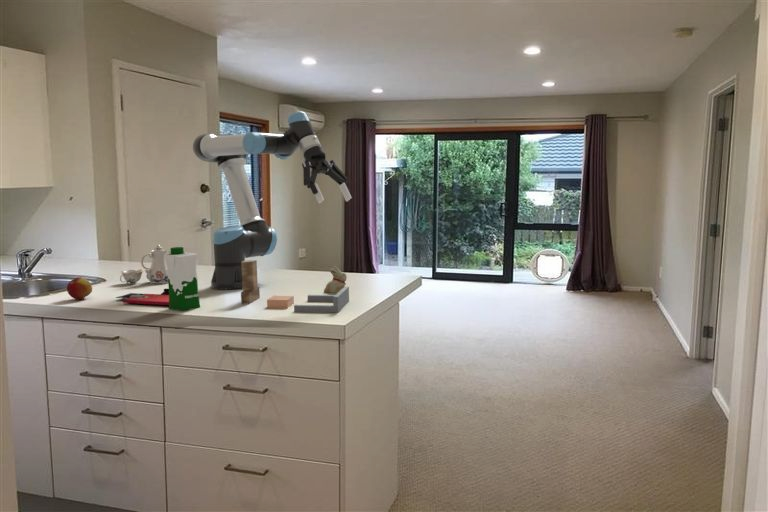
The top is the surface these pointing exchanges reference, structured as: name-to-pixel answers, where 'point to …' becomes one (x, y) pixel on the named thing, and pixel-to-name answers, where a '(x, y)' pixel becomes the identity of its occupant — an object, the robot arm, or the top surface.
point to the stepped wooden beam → (249, 282)
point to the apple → (79, 288)
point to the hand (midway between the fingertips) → (335, 200)
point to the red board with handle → (147, 298)
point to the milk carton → (182, 279)
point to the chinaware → (156, 272)
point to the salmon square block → (280, 301)
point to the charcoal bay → (338, 300)
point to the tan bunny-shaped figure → (336, 281)
